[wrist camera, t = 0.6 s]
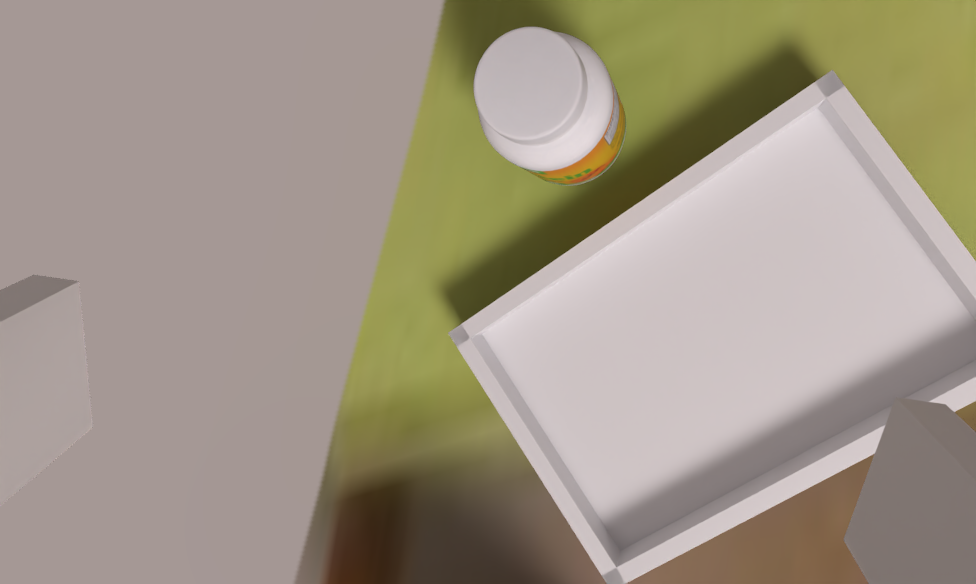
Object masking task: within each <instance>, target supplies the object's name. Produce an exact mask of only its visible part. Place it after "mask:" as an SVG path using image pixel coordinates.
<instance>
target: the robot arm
mask: <svg viewBox="0 0 976 584" xmlns="http://www.w3.org/2000/svg"><path fill="white" fill-rule="evenodd" d="M82 318H83V317H82V306H81V297H80V286H79V281H74V280H66V279H59V278H52V277H45V276H38V275H32V276H30V277H28V278H26V279H24V280H22V281H19V282H18V283H15V284H13V285H11V286H8V287H6V288H4V289H2V290H0V506H1V505H2V504H4V503H5V502H6V501H7V500H8V499H10V498H11V497H12V496H13V495H14V494H15V493H17V492H18V491H19V490H20V489H21V488H22V487H24V486H25V485H26V484H27V483H28V482H29V481H31V480H32V479H33V478H34V477H35V476H37V475H38V474H39V473H40V472H41V471H42V470H43V469H45V468H46V467H47V466H48V465H49V464H51V463H52V462H53V461H54V460H55V459H56V458H58V457H59V456H60V455H61V454H62V453H63V452H65V451H66V450H67V449H68V448H69V447H71V446H72V445H73V444H74V443H75V442H76V441H78V440H79V439H80V438H81V437H82V436H83V435H84V434H86V433H87V432H88V431H89V430H90V429H92V428H93V422H92V412H91V400H90V390H89V380H88V369H87V359H86V348H85V338H84V327H83V319H82ZM844 542H845V543H846V545H847V547H848V549H849V550H850V552H851V554H852V555H853V557H854V559H855V561H856V562H857V564H858V566H859V568H860V569H861V571H862V573H863V574H864V576H865V578H866V580H867V581H868V583H869V584H976V432H975V431H974V430H973V429H972V428H971V427H970V426H968V425H967V424H966V423H965V422H964V421H963V420H962V419H961V418H960V417H959V416H958V415H957V414H956V413H955V412H953V411H952V410H951V409H950V408H949V407H948V406H947V405H946V404H941V403H934V402H926V401H919V400H912V399H905V398H898V397H895V400H894V403H893V406H892V408H891V411H890V414H889V417H888V419H887V422H886V425H885V428H884V430H883V433H882V436H881V439H880V441H879V444H878V447H877V449H876V452H875V455H874V458H873V460H872V463H871V466H870V469H869V471H868V474H867V477H866V480H865V482H864V485H863V488H862V491H861V493H860V496H859V499H858V502H857V504H856V507H855V510H854V513H853V515H852V518H851V521H850V523H849V526H848V529H847V532H846V534H845V537H844Z"/></svg>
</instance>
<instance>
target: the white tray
mask: <svg viewBox="0 0 976 584" xmlns="http://www.w3.org/2000/svg"><path fill="white" fill-rule="evenodd" d="M448 334H449V335H450V337H451V338H452V340H453V341H454V343H455V345H456V346H457V348H458V349H459V351H460V352H461V354H462V356H463V357H464V359H465V360H466V362H467V364H468V365H469V367H470V368H471V370H472V371H473V373H474V375H475V376H476V378H477V379H478V381H479V382H480V384H481V386H482V387H483V389H484V390H485V392H486V394H487V395H488V397H489V398H490V400H491V401H492V403H493V405H494V406H495V408H496V409H497V411H498V412H499V414H500V416H501V417H502V419H503V420H504V422H505V424H506V425H507V427H508V428H509V430H510V431H511V433H512V435H513V436H514V438H515V439H516V441H517V443H518V444H519V446H520V447H521V449H522V450H523V452H524V454H525V455H526V457H527V458H528V460H529V461H530V463H531V465H532V466H533V468H534V469H535V471H536V473H537V474H538V476H539V477H540V479H541V480H542V482H543V484H544V485H545V487H546V488H547V490H548V491H549V493H550V495H551V496H552V498H553V499H554V501H555V503H556V504H557V506H558V507H559V509H560V510H561V512H562V514H563V515H564V517H565V518H566V520H567V522H568V523H569V525H570V526H571V528H572V529H573V531H574V533H575V534H576V536H577V537H578V539H579V540H580V542H581V544H582V545H583V547H584V548H585V550H586V552H587V553H588V555H589V556H590V558H591V559H592V561H593V563H594V564H595V566H596V567H597V569H598V570H599V572H600V574H601V575H602V577H603V578H604V580H605V582H606V583H607V584H625V583H627V582H629V581H631V580H633V579H635V578H637V577H639V576H641V575H643V574H644V573H646V572H648V571H650V570H652V569H654V568H656V567H658V566H660V565H662V564H664V563H666V562H667V561H669V560H671V559H673V558H675V557H677V556H679V555H681V554H683V553H685V552H687V551H689V550H690V549H692V548H694V547H696V546H698V545H700V544H702V543H704V542H706V541H708V540H710V539H712V538H713V537H715V536H717V535H719V534H721V533H723V532H725V531H727V530H729V529H731V528H733V527H735V526H736V525H738V524H740V523H742V522H744V521H746V520H748V519H750V518H752V517H754V516H756V515H758V514H759V513H761V512H763V511H765V510H767V509H769V508H771V507H773V506H775V505H777V504H779V503H781V502H782V501H784V500H786V499H788V498H790V497H792V496H794V495H796V494H798V493H800V492H802V491H804V490H805V489H807V488H809V487H811V486H813V485H815V484H817V483H819V482H821V481H823V480H825V479H827V478H828V477H830V476H832V475H834V474H836V473H838V472H840V471H842V470H844V469H846V468H848V467H850V466H851V465H853V464H855V463H857V462H859V461H861V460H863V459H865V458H867V457H869V456H871V455H873V454H874V453H875V452H876V449H877V447H878V444H879V441H880V439H881V436H882V433H883V430H884V428H885V425H886V422H887V419H888V417H889V414H890V411H891V408H892V406H893V403H894V400H895V397H898V398H905V399H912V400H919V401H926V402H934V403H941V404H946V405H947V406H948V407H949V408H950V409H951V410H952V411H953V412H955V411H957V410H959V409H961V408H963V407H964V406H966V405H968V404H970V403H972V402H974V401H976V261H975V260H974V258H973V257H972V256H971V254H970V253H969V252H968V250H967V249H966V248H965V246H964V245H963V244H962V242H961V241H960V240H959V238H958V237H957V236H956V234H955V233H954V232H953V230H952V229H951V228H950V226H949V225H948V224H947V222H946V221H945V220H944V218H943V217H942V216H941V214H940V213H939V212H938V210H937V209H936V208H935V206H934V205H933V204H932V202H931V201H930V200H929V198H928V197H927V196H926V194H925V193H924V192H923V190H922V189H921V188H920V186H919V185H918V184H917V182H916V181H915V180H914V178H913V177H912V176H911V174H910V173H909V171H908V170H907V169H906V167H905V166H904V165H903V163H902V162H901V161H900V159H899V158H898V157H897V155H896V154H895V153H894V151H893V150H892V149H891V147H890V146H889V145H888V143H887V142H886V141H885V139H884V138H883V137H882V135H881V134H880V133H879V131H878V130H877V129H876V127H875V126H874V125H873V123H872V122H871V121H870V119H869V118H868V117H867V115H866V114H865V113H864V111H863V110H862V109H861V107H860V106H859V105H858V103H857V102H856V101H855V99H854V98H853V97H852V95H851V94H850V93H849V91H848V90H847V89H846V87H845V86H844V84H843V83H842V82H841V80H840V79H839V78H838V76H837V75H836V74H835V72H834V71H833V70H832V71H830V72H829V73H827V74H826V75H824V76H823V77H821V78H820V79H818V80H817V81H815V82H814V83H813V84H811V85H810V86H808V87H807V88H805V89H804V90H802V91H801V92H799V93H798V94H796V95H795V96H794V97H792V98H791V99H789V100H788V101H786V102H785V103H783V104H782V105H780V106H779V107H777V108H776V109H775V110H773V111H772V112H770V113H769V114H767V115H766V116H764V117H763V118H761V119H760V120H758V121H757V122H756V123H754V124H753V125H751V126H750V127H748V128H747V129H745V130H744V131H742V132H741V133H740V134H738V135H737V136H735V137H734V138H732V139H731V140H729V141H728V142H726V143H725V144H723V145H722V146H721V147H719V148H718V149H716V150H715V151H713V152H712V153H710V154H709V155H707V156H706V157H704V158H703V159H702V160H700V161H699V162H697V163H696V164H694V165H693V166H691V167H690V168H688V169H687V170H685V171H684V172H683V173H681V174H680V175H678V176H677V177H675V178H674V179H672V180H671V181H669V182H668V183H666V184H665V185H664V186H662V187H661V188H659V189H658V190H656V191H655V192H653V193H652V194H650V195H649V196H647V197H646V198H645V199H643V200H642V201H640V202H639V203H637V204H636V205H634V206H633V207H631V208H630V209H628V210H627V211H626V212H624V213H623V214H621V215H620V216H618V217H617V218H615V219H614V220H612V221H611V222H610V223H608V224H607V225H605V226H604V227H602V228H601V229H599V230H598V231H596V232H595V233H593V234H592V235H591V236H589V237H588V238H586V239H585V240H583V241H582V242H580V243H579V244H577V245H576V246H574V247H573V248H572V249H570V250H569V251H567V252H566V253H564V254H563V255H561V256H560V257H558V258H557V259H555V260H554V261H553V262H551V263H550V264H548V265H547V266H545V267H544V268H542V269H541V270H539V271H538V272H536V273H535V274H534V275H532V276H531V277H529V278H528V279H526V280H525V281H523V282H522V283H520V284H519V285H517V286H516V287H515V288H513V289H512V290H510V291H509V292H507V293H506V294H504V295H503V296H501V297H500V298H499V299H497V300H496V301H494V302H493V303H491V304H490V305H488V306H487V307H485V308H484V309H482V310H481V311H480V312H478V313H477V314H475V315H474V316H472V317H471V318H469V319H468V320H466V321H465V322H463V323H462V324H461V325H459V326H458V327H456V328H455V329H453V330H452V331H450V332H449V333H448Z"/></svg>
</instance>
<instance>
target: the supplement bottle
mask: <svg viewBox="0 0 976 584" xmlns="http://www.w3.org/2000/svg"><path fill="white" fill-rule="evenodd" d="M474 97H475V101H476V105H477V108H478V113H479V118H480V122H481V126H482V128H483V131H484V133H485V135H486V137H487V139H488V141H489V142H490V144H491V145H492V146H493V147H494V149H495V150H496V151H497V152H498V153H499V154H501V155H502V156H503V157H504V158H506V159H507V160H508V161H510V162H512V163H513V164H515V165H517V166H519V167H521V168H523V169H525V170H527V171H529V172H530V173H532V174H534V175H536V176H537V177H539V178H541V179H543V180H545V181H548V182H550V183H554V184H558V185H567V186H572V185H579V184H583V183H586V182H589V181H591V180H593V179H595V178H597V177H599V176H600V175H602V174H603V173H604V172H605V171H606V170H608V169H609V168H610V166H611V165H612V164H613V163H614V161H615V160H616V159H617V157H618V155H619V153H620V151H621V149H622V146H623V143H624V139H625V134H626V118H625V112H624V108H623V105H622V103H621V100H620V98H619V96H618V93H617V91H616V89H615V87H614V84H613V82H612V80H611V78H610V76H609V73H608V71H607V69H606V67H605V65H604V63H603V62H602V60H601V59H600V57H599V56H598V55H597V54H596V52H595V51H594V50H593V49H592V48H591V47H590V46H588V45H587V44H586V43H584V42H583V41H581V40H580V39H578V38H576V37H574V36H571V35H568V34H565V33H560V32H554V31H551V30H549V29H545V28H541V27H522V28H518V29H514V30H512V31H509V32H507V33H505V34H504V35H502V36H500V37H499V38H498V39H496V40H495V41H494V42H493V43H492V44H491V45H490V46H489V47H488V49H487V50H486V51H485V53H484V54H483V56H482V58H481V59H480V61H479V64H478V66H477V69H476V73H475V77H474Z"/></svg>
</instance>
